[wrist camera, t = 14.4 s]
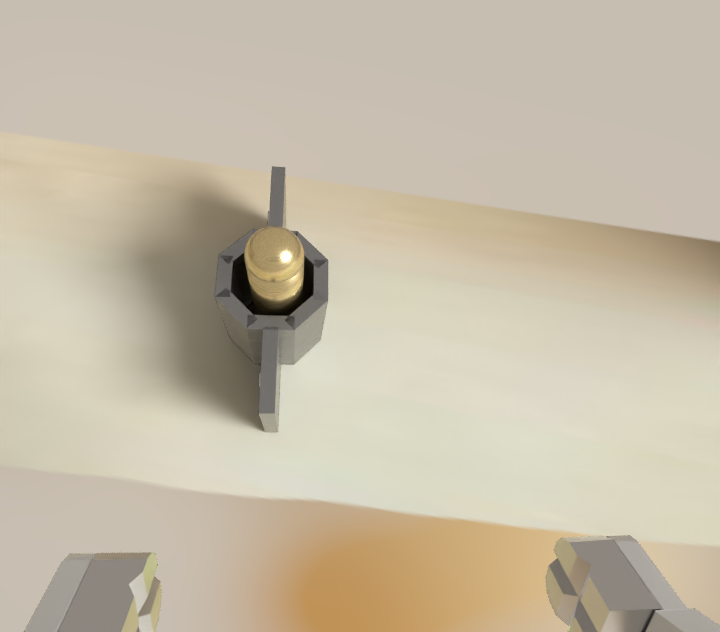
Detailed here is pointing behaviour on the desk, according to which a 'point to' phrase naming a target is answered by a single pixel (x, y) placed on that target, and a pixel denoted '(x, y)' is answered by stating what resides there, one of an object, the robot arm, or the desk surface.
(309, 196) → the desk surface
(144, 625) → the robot arm
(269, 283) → the brass pin
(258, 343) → the octagonal sleeve with tab
